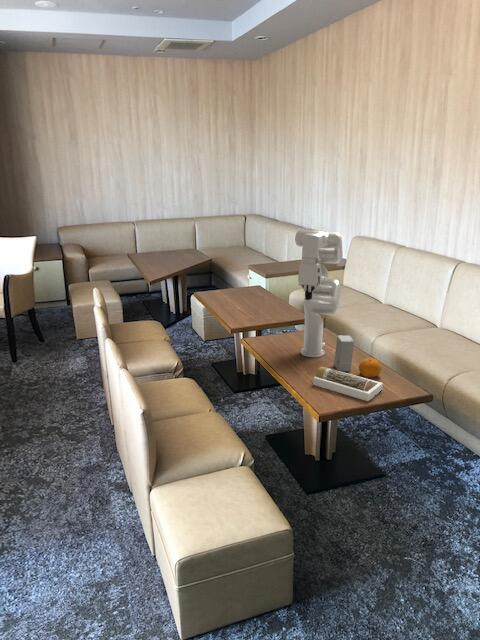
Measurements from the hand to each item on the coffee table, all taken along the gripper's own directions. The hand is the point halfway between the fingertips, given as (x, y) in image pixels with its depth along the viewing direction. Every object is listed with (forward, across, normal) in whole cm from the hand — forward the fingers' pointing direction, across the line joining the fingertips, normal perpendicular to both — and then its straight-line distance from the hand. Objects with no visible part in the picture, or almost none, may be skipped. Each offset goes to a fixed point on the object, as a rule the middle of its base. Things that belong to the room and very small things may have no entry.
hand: (308, 299), depth 247 cm
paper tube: (+32, -12, +8) cm, 35 cm away
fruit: (+35, -28, -12) cm, 47 cm away
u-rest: (+35, -26, +7) cm, 44 cm away
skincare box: (+35, -14, -12) cm, 40 cm away
